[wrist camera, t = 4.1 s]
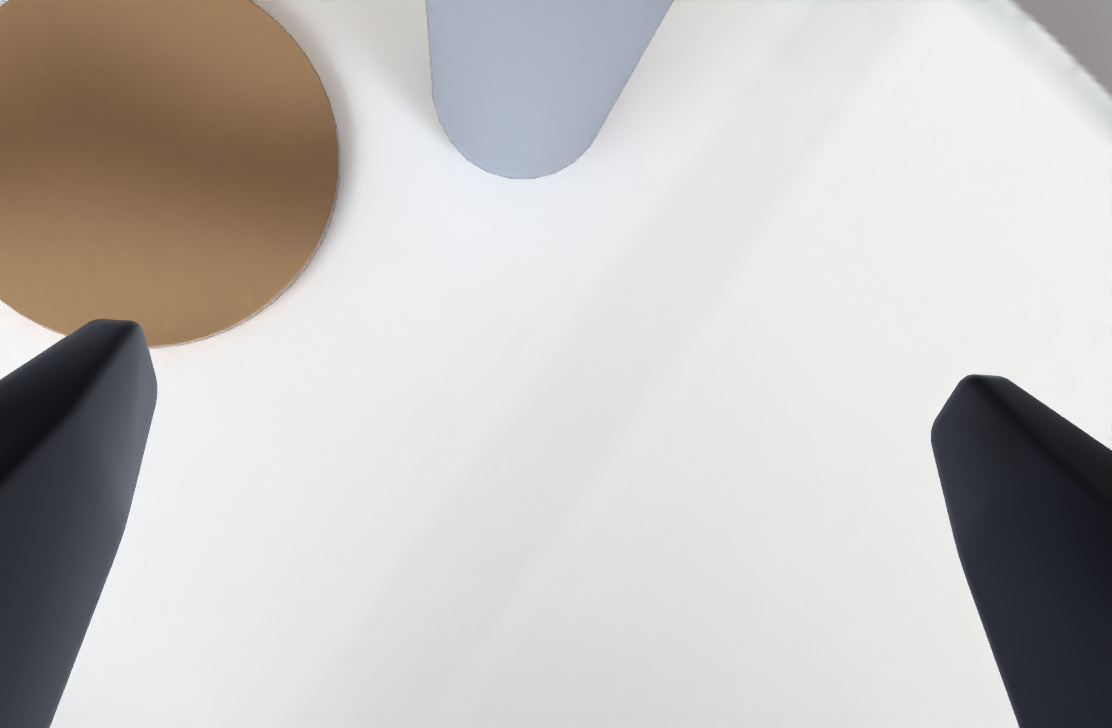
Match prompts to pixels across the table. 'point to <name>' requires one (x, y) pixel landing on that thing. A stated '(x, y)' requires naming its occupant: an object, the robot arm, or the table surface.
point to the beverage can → (532, 75)
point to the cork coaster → (158, 163)
